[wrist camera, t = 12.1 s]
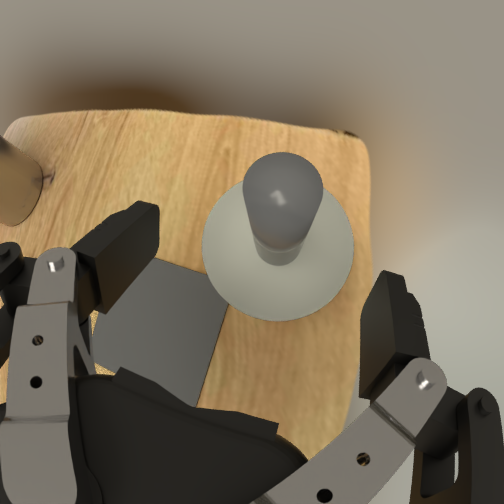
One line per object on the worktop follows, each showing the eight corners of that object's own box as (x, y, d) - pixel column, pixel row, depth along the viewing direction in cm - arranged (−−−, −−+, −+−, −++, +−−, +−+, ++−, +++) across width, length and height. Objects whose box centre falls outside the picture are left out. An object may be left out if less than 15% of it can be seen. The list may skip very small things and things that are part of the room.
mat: (88, 358, 27) (86, 358, 27) (121, 246, 29) (119, 246, 29) (195, 406, 26) (195, 407, 25) (234, 283, 28) (234, 283, 28)
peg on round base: (185, 294, 21) (116, 275, 11) (231, 164, 23) (206, 71, 13) (328, 338, 20) (377, 358, 10) (363, 201, 21) (417, 125, 12)
